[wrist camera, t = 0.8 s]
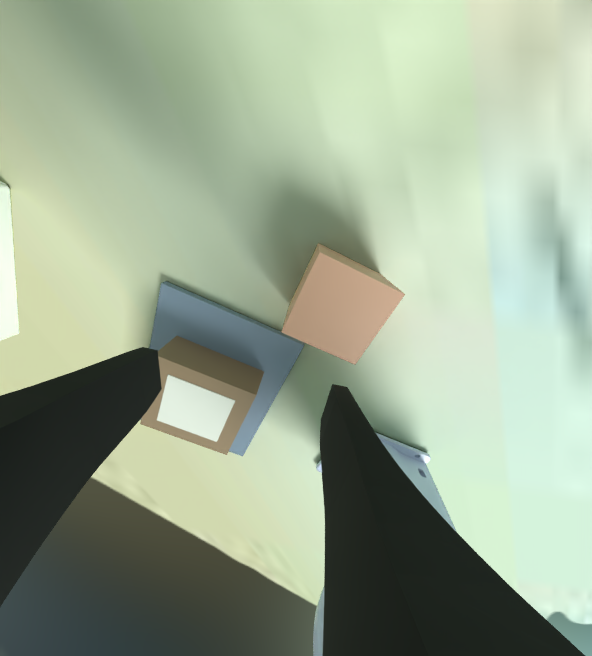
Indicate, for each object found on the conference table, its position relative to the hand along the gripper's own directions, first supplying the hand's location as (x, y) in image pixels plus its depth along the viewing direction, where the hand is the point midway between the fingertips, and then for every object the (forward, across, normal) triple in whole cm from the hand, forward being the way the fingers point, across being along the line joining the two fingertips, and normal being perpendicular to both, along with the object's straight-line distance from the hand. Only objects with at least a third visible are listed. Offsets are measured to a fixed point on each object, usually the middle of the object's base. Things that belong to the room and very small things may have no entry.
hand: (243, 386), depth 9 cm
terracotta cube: (+10, -4, -2) cm, 11 cm away
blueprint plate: (+10, +5, +9) cm, 14 cm away
